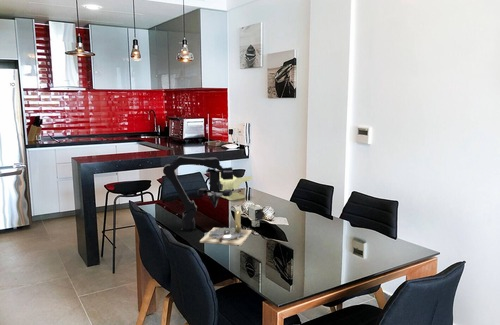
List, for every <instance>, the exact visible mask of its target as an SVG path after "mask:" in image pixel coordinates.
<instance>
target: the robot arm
mask: <svg viewBox="0 0 500 325" xmlns="http://www.w3.org/2000/svg"><path fill="white" fill-rule="evenodd" d="M181 165H192V166H204V167H205V168H207V169H206V170H205V172H206V173H207V174H208V173H209V178H208V179H209V182H208V185H209V189H208V188H207V187H205V188H204V187H201V188H199V189H198V190H197V195H198V196H203V195H205V194H207V195H206V197H207V198H209V199H210V201H211V204H212V205H213V208H216V207H217V205H218V202H219V199H220V198H222V197H221V196H222V195H223V196H231V195H232V193H233V189H232V190H229V189H225V190H224V191H220V190H223V184H221V183H220V172H221V178H222V179H223V180H229V179H233V175H234V173H233V171H234V170H233V167H231V166H230V167H223V165H221V162H220V160H219V159H218V158H217V157H213V156H211V157H203V158H201V157H192V156H190V157H189V156H183V155H180V156H178V157H177V158H176V159H174V160H173V161H172V162H171V163H166V164H165V165H164V166H163V169H162V171H163V174H164V176H165V177H166V178H167V179H168V180H169V182H171V184H172V186H173V188H174V190H175V191H176V193H177V195H178V196H179V199H180V200H181V202H182V203H183V207H184V209H185V210H184V211H183V212H182V217H181V229H180V230H181V231H187V232H188V231H189V232H192V231H193V230H195V229H196V220H195V216H196V215H197V213H198V211H197V209H198V206H197V205H196V203H195V201H194V200H193V199H192V200H190V198H189V196H188V194H187V192H185V190H184V187H183V186H182V184H181V182H180V180H179V179H178V175H177V173H176V170H177V169H178V168H179V167H180V166H181ZM216 169H217V170H216Z"/></svg>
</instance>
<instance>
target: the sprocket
mask: <svg viewBox="0 0 500 325" xmlns="http://www.w3.org/2000/svg"><path fill="white" fill-rule="evenodd" d="M241 215H242V213H241V210H235V211H234V227H230V228H229V227H222V228H223V229H215V231H211V230H209V231H210V233H211V234H209V236H212V239H219V238H222V240H228V241H231V240H232V239H237V240H238V239H239V237H244V232H241V228H242V227H241V224H242V223H241V222H242V221H241V218H242V217H241Z"/></svg>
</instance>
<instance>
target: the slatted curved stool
mask: <svg viewBox="0 0 500 325" xmlns="http://www.w3.org/2000/svg"><path fill="white" fill-rule="evenodd" d="M252 180H253V176H252V175H250V176H243V177H237V176H235V175H234V174H233V179H229V180H223V179H222V178H221V172H220V183H221V184H223V190H220V191H224V190H225V189H229V190H232V191H233V190H236V189H239V188H240V186H241V184H242V183H245V182H248V181H252ZM220 198H223V199H226V200H228V201H235V200H241V199H245V198H246V197H245V194H242V193H239V192H232V195H231V196H223V195H222V196H221V197H220Z"/></svg>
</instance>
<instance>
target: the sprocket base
mask: <svg viewBox="0 0 500 325" xmlns="http://www.w3.org/2000/svg"><path fill="white" fill-rule="evenodd" d="M223 228H224V227H212V229H211V230H209V231H208V232H207V233H206V234H205V235H204V236H203V237H202V238H201V239H200V240H199V243H201V244H202V243H203V244H213V245H226V246H237V245H239V246H240V247H242V246H243V245H244V243H245V242H246V240H247V239H248V238H249V236H251V233H252V232H253V231H252V230H251V229H241V232H244V237H239V239H238V240H237V239H232V240H231V241H228V240H222V238H219V239H212V236H209V234H211V233H210V231H215V229H223ZM239 246H238V247H239Z"/></svg>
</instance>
